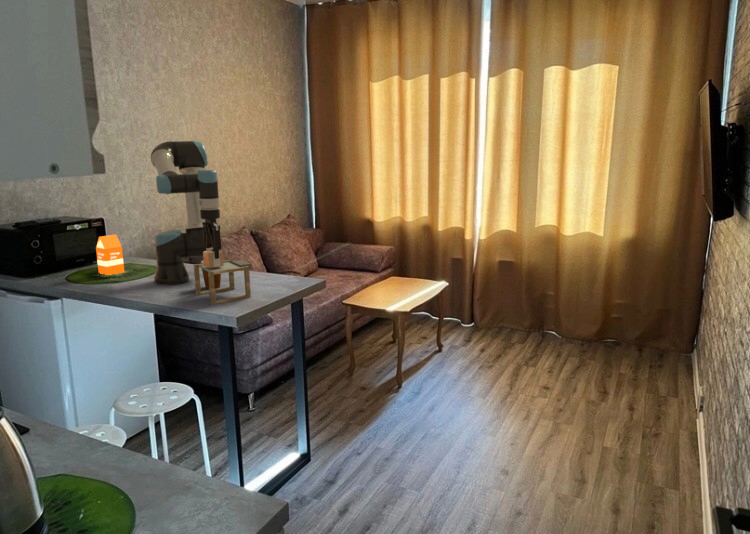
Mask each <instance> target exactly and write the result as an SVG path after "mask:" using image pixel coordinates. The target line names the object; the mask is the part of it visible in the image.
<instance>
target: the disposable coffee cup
mask: <svg viewBox="0 0 750 534" xmlns="http://www.w3.org/2000/svg"><path fill="white" fill-rule="evenodd" d="M200 264H204V259H203V260H201V261H200ZM201 272H202V276H203V282H204V286H205V289H207V290H209V277H208V271H206V270H204V269H202V268H201ZM221 277H222V273H221V274H214V286H215V289H220V288H221V279H222V278H221Z"/></svg>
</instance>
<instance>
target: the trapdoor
mask: <svg viewBox="0 0 750 534" xmlns="http://www.w3.org/2000/svg"><path fill="white" fill-rule="evenodd" d="M223 265H224V266H221V267H214V268H208V267H206V266H201V267H200V268H201V270H202V269H204V270H206V271H208V272H210V271H218V270H225V269H232V268H240V267H245V266H248V267H249V271H251V270H253V263H251V262H249V261H246V260H243V259H239V260H233V261H231V263H230V262H227V263H223ZM242 271H243V272H244V270H242ZM242 271H241V272H242Z"/></svg>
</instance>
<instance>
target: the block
mask: <svg viewBox="0 0 750 534" xmlns="http://www.w3.org/2000/svg"><path fill="white" fill-rule="evenodd" d="M219 253H220V266H217V267H221V266H224V265H223V261H224V252H223V251H221V250H219ZM202 257H203V260H204V266H206V267H208V268H214V267H213V256H212V251H211V250H210V251H203V256H202Z"/></svg>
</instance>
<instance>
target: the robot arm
mask: <svg viewBox="0 0 750 534" xmlns="http://www.w3.org/2000/svg"><path fill="white" fill-rule="evenodd" d="M150 161H151V164H152V166H153V167H154V168H155V169H156V172H157V176H156V177H155V182H156V190H157V192H158V194H160V195H161V194H163V195H164V194H165V195H170V194H184V196H185V197H184V198H185V205H186V214H187V216H186V217H187V227H185V230H184V231H185V232H182V230H180V229H173V230H167V231H163V232H160V233H159V232H158V233H157V234H156V235H155V237H154V246H155V253H156V270H155V275H154V283H155V284H156V283H158V284H157V285H160V284H172V285H180V284H184V283H188V281H189V280H190V276H189V272H188V270H187V269H186V266H185V261H184V260H185V259H186V258H187V259H189V258H198V257H200V258H201V257H203V251H210V250H211V251H212V256H213V267H217V266H220V253H219V251H221V250H222V248H223V247H222V242H221V241H222V238H221V225H220V224H218V223H217V220H218V219H220V218H221V212H220V211H221V210H220V209H219V208H220V196H219V183H218V182H219V177H218V172H217V170H216V169H206V168H205V167H207V166H208V162H209V161H208V154H207V150H206V147H205V145H204V144H203V142H202V141H195V140H194V141H193V140H190V141H189V140H187V141H185V140H184V141H183V140H182V141H177V140H176V141H175V140H174V141H169V140H168V141H164V142H162V143H160V144H158V145H157V146H155V147H154V149H153V150H152V151H151V153H150ZM177 168H178V171H179V173H180V174H179V173H178V171H177Z"/></svg>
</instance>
